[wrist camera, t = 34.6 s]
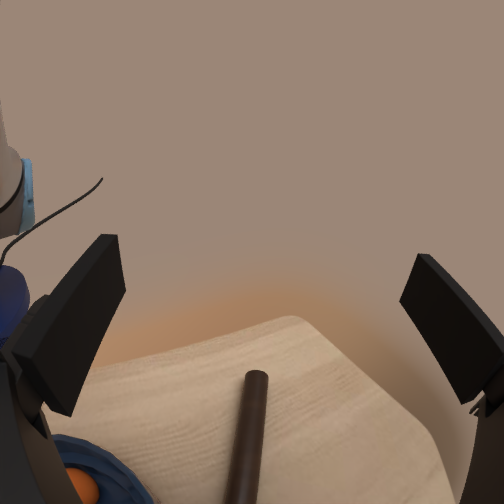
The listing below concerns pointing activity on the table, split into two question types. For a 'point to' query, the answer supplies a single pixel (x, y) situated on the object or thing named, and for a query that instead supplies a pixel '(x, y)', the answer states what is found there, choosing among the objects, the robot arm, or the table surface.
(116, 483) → the bowl
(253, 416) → the stick
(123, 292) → the robot arm
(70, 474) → the ball
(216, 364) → the table surface
